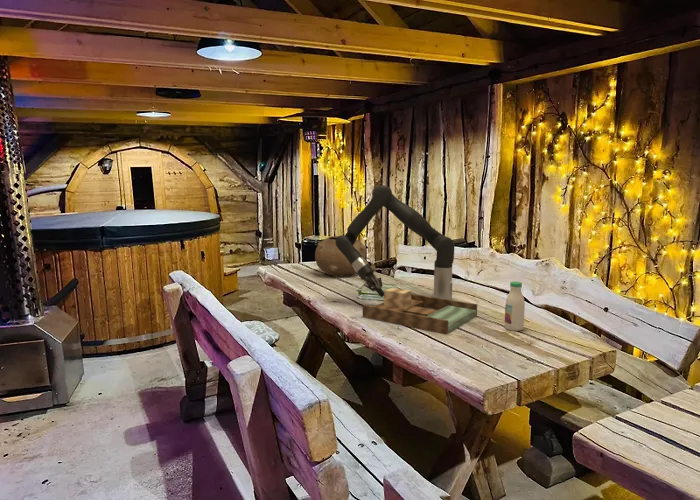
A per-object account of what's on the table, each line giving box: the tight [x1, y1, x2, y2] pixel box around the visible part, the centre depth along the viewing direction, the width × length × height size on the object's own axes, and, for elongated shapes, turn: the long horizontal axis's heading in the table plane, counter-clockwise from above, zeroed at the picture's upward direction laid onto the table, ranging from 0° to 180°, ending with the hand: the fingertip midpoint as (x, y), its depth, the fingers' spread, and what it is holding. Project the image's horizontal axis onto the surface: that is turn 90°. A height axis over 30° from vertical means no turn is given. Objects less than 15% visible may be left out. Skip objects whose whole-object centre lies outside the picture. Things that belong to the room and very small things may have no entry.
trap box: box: [362, 293, 478, 335], centre depth 218 cm, size 42×32×6 cm
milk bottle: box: [504, 280, 526, 332], centre depth 199 cm, size 8×8×20 cm
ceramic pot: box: [314, 235, 367, 277], centre depth 313 cm, size 33×34×25 cm
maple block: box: [383, 287, 412, 309], centre depth 224 cm, size 11×6×8 cm, turn 54°
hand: (383, 295), depth 229 cm, fingers closed
